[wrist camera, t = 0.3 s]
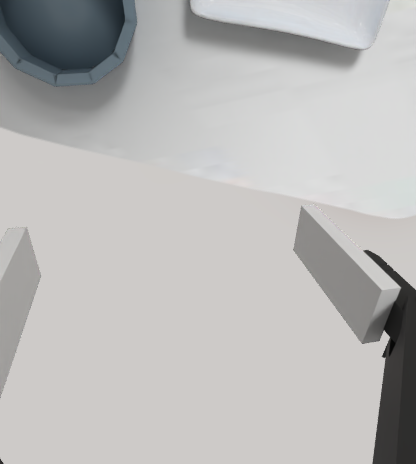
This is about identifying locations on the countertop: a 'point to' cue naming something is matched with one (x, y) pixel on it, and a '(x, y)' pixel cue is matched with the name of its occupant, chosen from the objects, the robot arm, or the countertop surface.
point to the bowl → (66, 37)
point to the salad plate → (303, 17)
